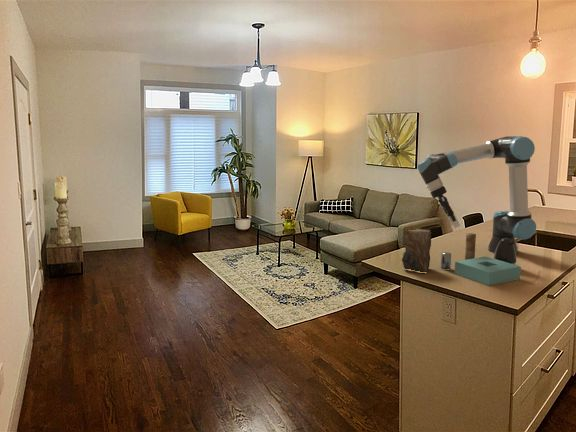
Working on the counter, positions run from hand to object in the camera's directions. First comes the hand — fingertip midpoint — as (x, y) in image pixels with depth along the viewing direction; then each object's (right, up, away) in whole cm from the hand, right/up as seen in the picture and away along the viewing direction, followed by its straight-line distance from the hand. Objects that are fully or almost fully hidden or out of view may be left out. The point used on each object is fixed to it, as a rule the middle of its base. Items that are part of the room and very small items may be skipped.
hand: (456, 225), depth 231 cm
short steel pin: (-7, -21, -4) cm, 23 cm away
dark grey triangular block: (+23, -21, -4) cm, 31 cm away
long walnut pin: (+8, -20, +2) cm, 22 cm away
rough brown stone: (-21, -22, -7) cm, 31 cm away
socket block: (+8, -23, -17) cm, 30 cm away
